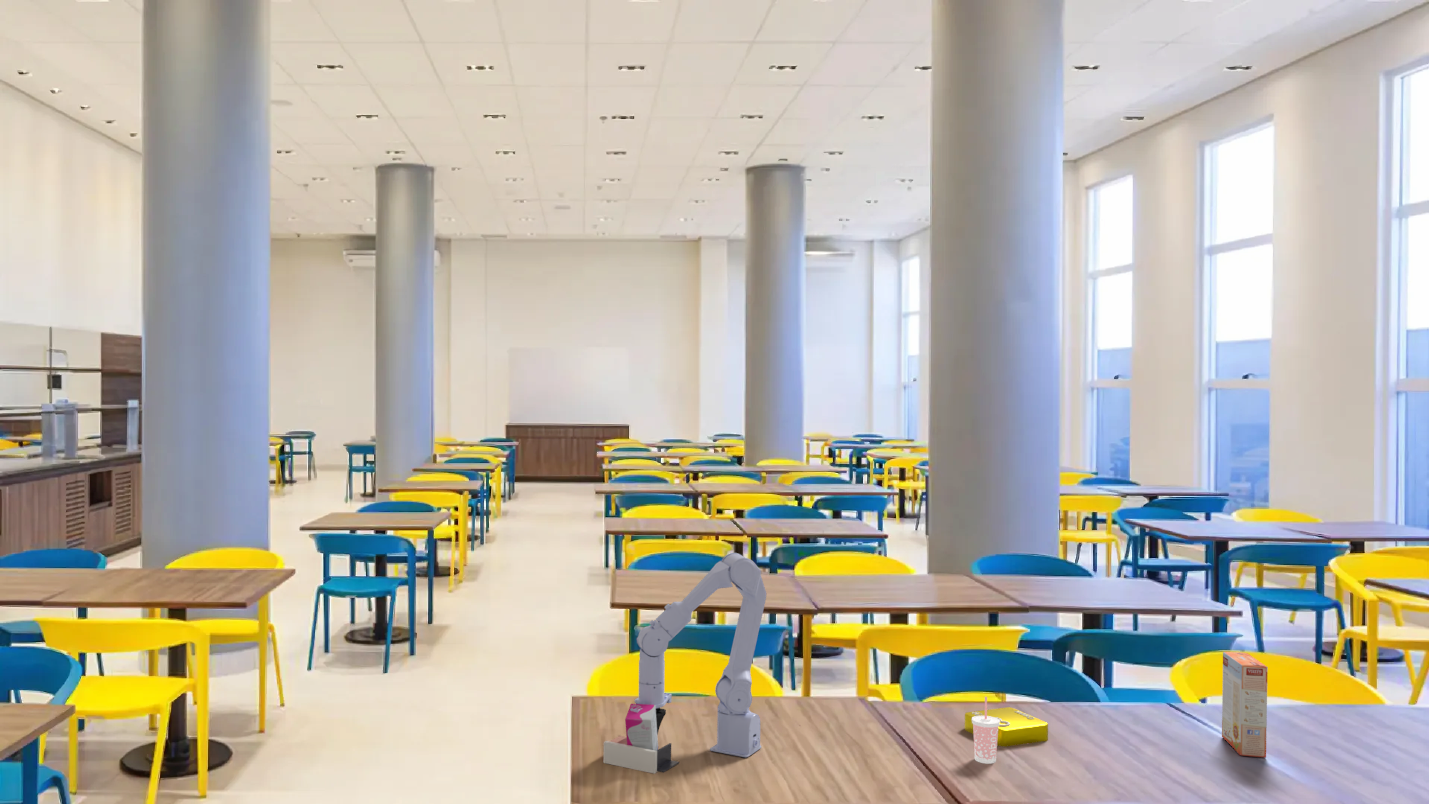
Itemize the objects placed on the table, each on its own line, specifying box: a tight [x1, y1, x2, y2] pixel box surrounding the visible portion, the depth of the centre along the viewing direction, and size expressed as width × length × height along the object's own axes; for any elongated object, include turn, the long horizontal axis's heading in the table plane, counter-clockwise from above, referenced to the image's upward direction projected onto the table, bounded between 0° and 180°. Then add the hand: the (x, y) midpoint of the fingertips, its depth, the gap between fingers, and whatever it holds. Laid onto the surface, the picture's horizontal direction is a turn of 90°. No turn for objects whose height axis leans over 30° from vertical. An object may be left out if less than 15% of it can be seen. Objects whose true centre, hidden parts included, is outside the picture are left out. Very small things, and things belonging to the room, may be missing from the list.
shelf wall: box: [603, 740, 658, 774], centre depth 214 cm, size 13×1×4 cm, turn 62°
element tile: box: [964, 706, 1049, 747], centre depth 240 cm, size 15×15×5 cm
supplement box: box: [624, 703, 659, 751], centre depth 217 cm, size 6×6×12 cm
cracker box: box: [1221, 651, 1269, 759], centre depth 232 cm, size 14×6×21 cm, turn 168°
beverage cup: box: [972, 696, 1000, 765], centre depth 222 cm, size 6×6×14 cm
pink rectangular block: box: [609, 735, 627, 745], centre depth 221 cm, size 2×6×4 cm, turn 152°
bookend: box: [657, 742, 680, 773], centre depth 215 cm, size 2×6×4 cm, turn 152°
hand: (650, 742), depth 222 cm, fingers closed
